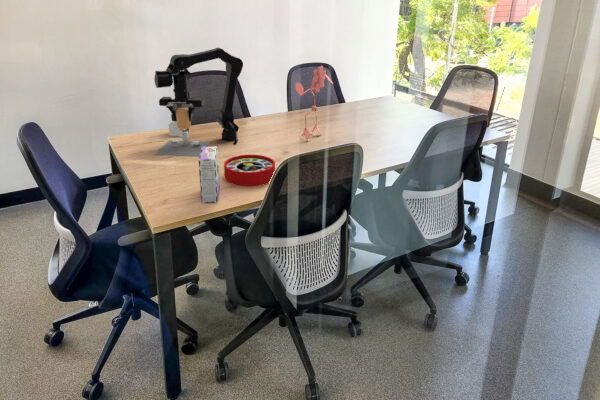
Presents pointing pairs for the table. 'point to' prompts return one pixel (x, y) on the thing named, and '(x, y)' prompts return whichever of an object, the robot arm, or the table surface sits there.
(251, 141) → the table surface
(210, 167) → the candy box
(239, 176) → the toy clock
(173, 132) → the medicine bottle
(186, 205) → the table surface
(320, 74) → the figurine
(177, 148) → the stand
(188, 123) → the tan rounded piece
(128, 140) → the table surface
